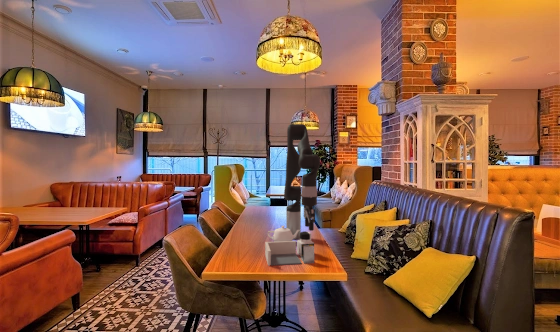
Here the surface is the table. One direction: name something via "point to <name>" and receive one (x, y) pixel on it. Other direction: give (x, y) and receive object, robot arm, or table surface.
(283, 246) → the corner walls
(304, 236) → the medicine bottle
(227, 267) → the table surface
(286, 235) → the teapot
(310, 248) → the bracket
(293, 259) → the slate mat
